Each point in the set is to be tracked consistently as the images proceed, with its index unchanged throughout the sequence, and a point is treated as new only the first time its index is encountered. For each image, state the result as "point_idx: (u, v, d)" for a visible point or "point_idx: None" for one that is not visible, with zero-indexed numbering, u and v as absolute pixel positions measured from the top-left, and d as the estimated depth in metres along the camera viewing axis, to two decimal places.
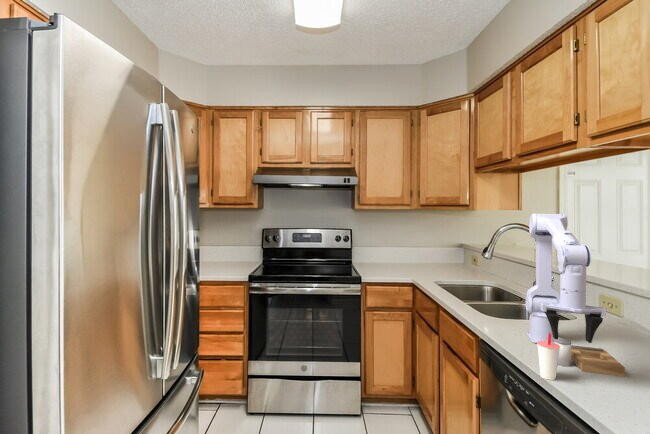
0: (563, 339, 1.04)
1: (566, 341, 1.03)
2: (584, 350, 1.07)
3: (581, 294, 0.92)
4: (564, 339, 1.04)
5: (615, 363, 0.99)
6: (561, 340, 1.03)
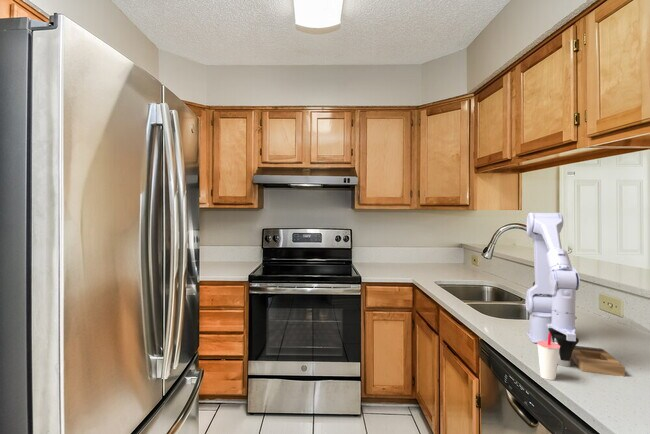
0: None
1: None
2: (584, 350, 1.07)
3: (554, 313, 1.03)
4: None
5: (615, 363, 0.99)
6: None
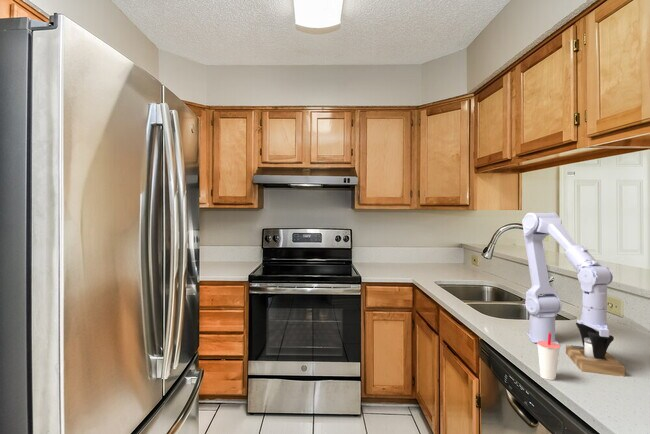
0: None
1: None
2: None
3: (585, 309, 1.03)
4: None
5: (615, 363, 0.99)
6: None
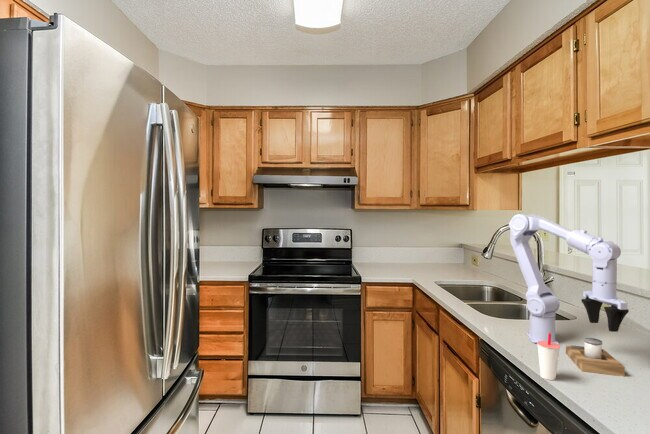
0: (593, 339, 1.04)
1: (597, 341, 1.03)
2: None
3: (598, 284, 1.05)
4: (594, 339, 1.04)
5: (615, 363, 0.99)
6: (592, 340, 1.03)
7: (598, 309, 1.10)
